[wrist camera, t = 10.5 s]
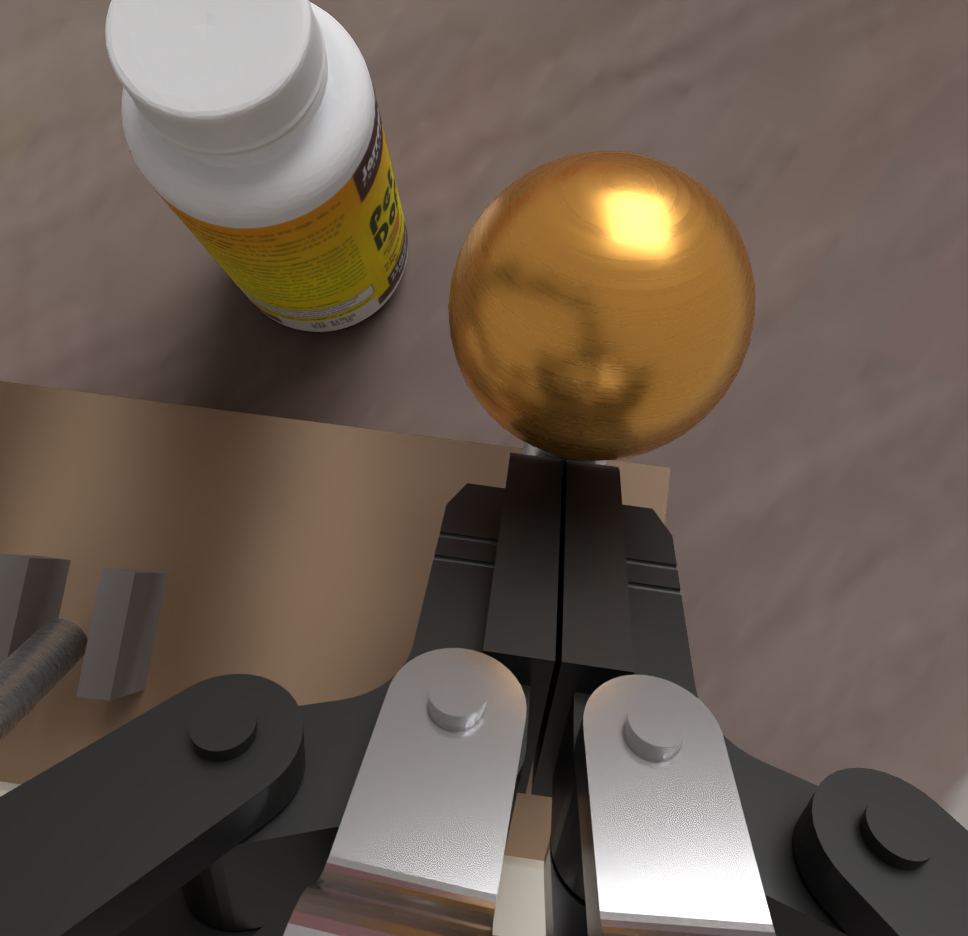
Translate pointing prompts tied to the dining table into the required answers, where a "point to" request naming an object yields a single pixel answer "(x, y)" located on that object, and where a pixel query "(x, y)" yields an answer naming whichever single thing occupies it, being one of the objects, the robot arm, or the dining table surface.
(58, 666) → the lever black
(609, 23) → the dining table surface
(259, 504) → the panel
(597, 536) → the robot arm
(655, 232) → the lever orange
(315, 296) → the supplement bottle
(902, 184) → the dining table surface
